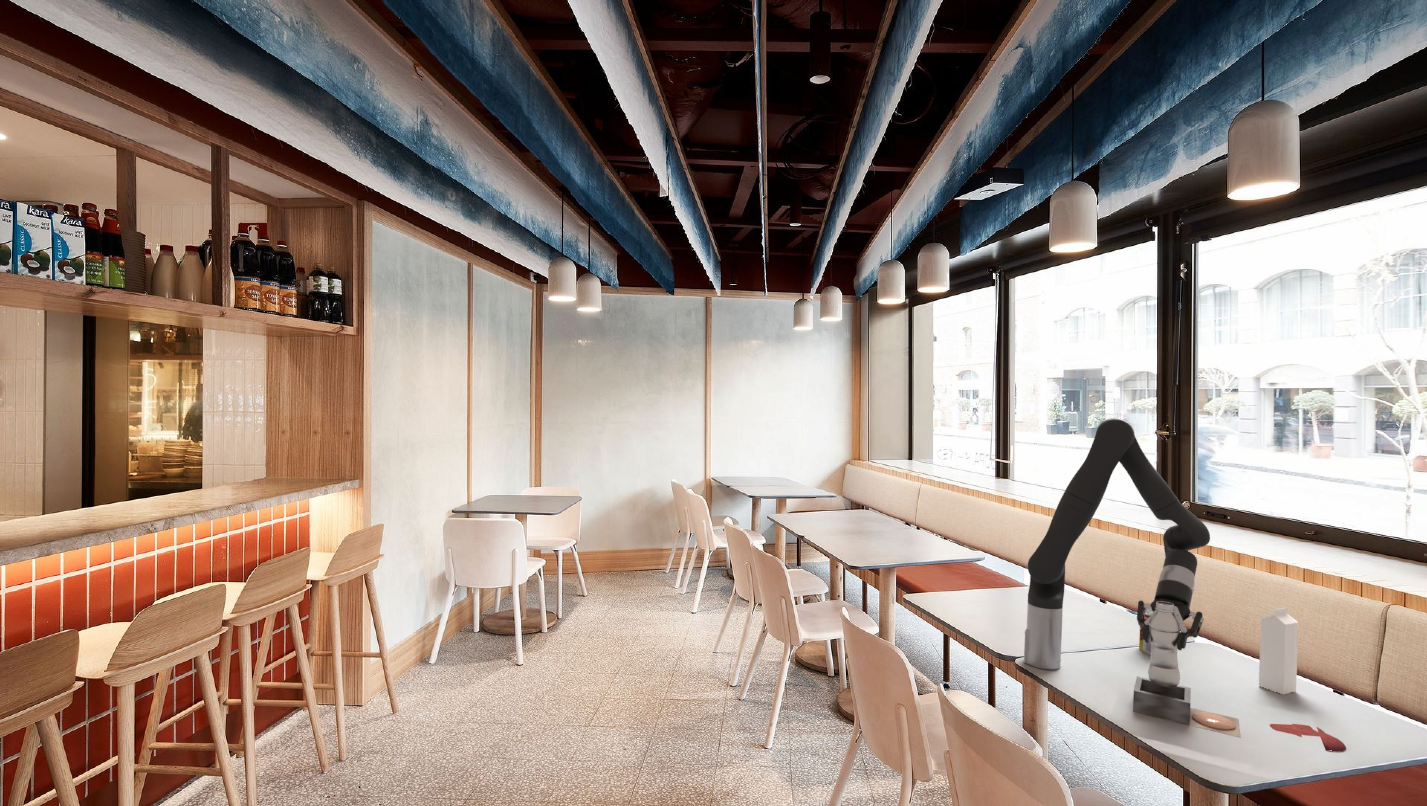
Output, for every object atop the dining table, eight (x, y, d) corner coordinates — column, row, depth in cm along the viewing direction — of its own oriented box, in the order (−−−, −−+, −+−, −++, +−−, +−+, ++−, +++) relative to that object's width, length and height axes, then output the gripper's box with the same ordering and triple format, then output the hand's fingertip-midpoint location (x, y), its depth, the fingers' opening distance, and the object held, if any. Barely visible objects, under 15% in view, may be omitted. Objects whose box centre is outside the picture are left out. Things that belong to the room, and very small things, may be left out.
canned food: (1168, 650, 220) (1170, 612, 220) (1169, 658, 214) (1170, 618, 213) (1139, 645, 224) (1140, 607, 224) (1138, 652, 218) (1140, 613, 218)
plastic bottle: (1184, 692, 168) (1186, 608, 168) (1153, 689, 170) (1155, 606, 170) (1173, 681, 175) (1174, 601, 175) (1143, 679, 176) (1144, 598, 176)
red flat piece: (1282, 752, 156) (1282, 743, 156) (1235, 724, 170) (1235, 715, 170) (1360, 755, 157) (1360, 746, 157) (1306, 726, 170) (1307, 717, 170)
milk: (1296, 692, 190) (1300, 610, 190) (1282, 695, 188) (1286, 612, 188) (1270, 683, 196) (1274, 604, 196) (1257, 686, 194) (1261, 606, 193)
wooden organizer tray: (1132, 717, 170) (1133, 691, 170) (1135, 701, 180) (1136, 676, 180) (1240, 744, 159) (1242, 715, 159) (1238, 725, 169) (1239, 697, 169)
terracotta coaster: (1191, 723, 165) (1191, 721, 165) (1191, 710, 172) (1191, 709, 172) (1236, 733, 161) (1236, 731, 161) (1234, 720, 168) (1234, 718, 168)
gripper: (1140, 573, 183) (1126, 629, 174) (1207, 584, 172) (1196, 644, 164) (1145, 590, 186) (1131, 645, 178) (1211, 602, 176) (1200, 661, 168)
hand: (1162, 644), depth 171 cm, fingers closed on plastic bottle, 6 cm apart
